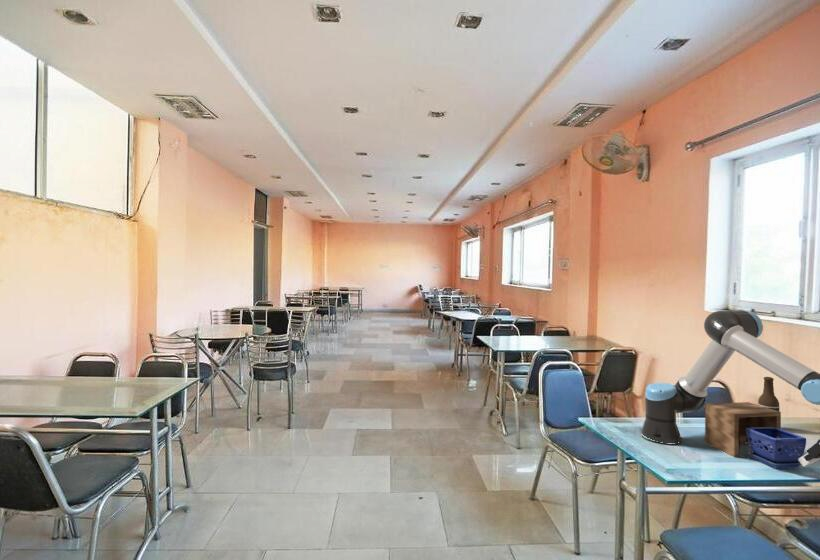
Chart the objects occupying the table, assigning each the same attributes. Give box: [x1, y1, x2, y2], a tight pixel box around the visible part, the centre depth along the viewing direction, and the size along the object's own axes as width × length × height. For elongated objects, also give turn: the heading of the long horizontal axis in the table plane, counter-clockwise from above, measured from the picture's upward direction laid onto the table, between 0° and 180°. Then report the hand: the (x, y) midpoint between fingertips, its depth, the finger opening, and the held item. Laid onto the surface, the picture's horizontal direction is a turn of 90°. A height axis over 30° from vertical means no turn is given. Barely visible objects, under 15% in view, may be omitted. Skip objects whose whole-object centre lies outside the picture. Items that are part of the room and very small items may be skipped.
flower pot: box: [746, 427, 807, 469], centre depth 162 cm, size 13×13×12 cm
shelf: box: [704, 401, 782, 458], centre depth 176 cm, size 14×21×17 cm
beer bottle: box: [757, 376, 780, 412], centre depth 201 cm, size 8×8×24 cm
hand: (802, 462), depth 152 cm, fingers closed
